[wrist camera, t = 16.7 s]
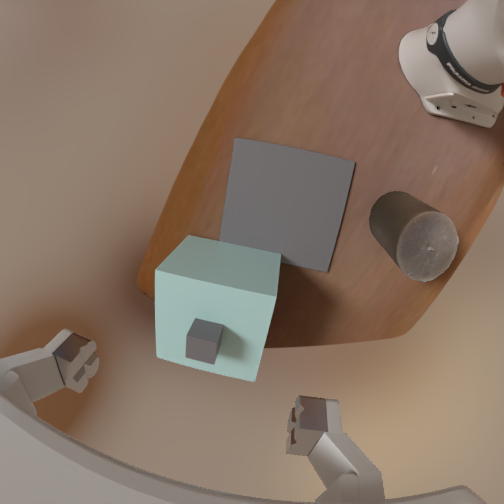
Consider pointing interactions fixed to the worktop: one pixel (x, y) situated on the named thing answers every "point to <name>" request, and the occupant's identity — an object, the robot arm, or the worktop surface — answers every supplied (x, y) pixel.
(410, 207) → the pillar candle
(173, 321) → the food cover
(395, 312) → the worktop surface
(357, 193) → the worktop surface
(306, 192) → the mat
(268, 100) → the worktop surface
